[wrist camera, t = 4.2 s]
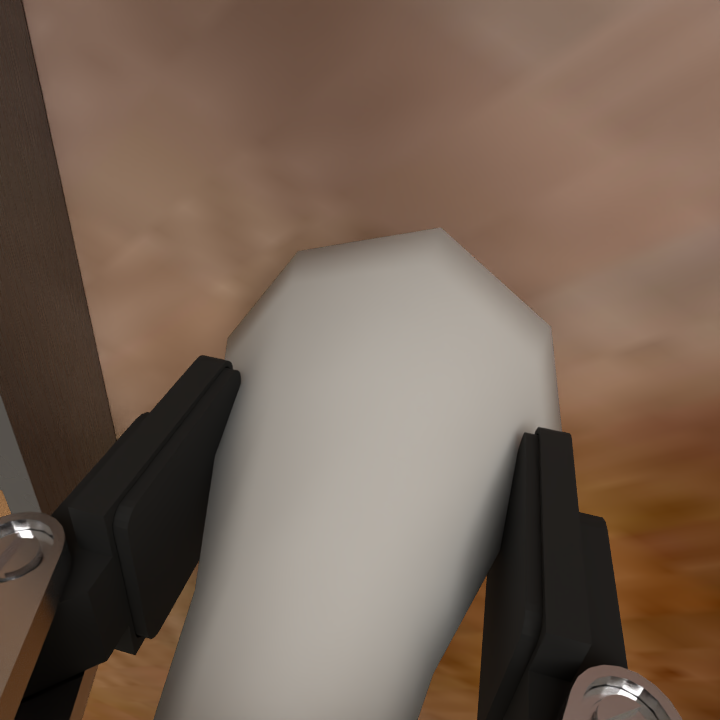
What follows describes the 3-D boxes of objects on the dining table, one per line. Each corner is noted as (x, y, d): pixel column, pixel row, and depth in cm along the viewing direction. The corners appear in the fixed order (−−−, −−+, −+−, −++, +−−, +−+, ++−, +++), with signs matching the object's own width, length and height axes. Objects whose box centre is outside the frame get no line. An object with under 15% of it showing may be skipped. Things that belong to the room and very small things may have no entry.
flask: (620, 453, 13) (789, 1303, 5) (349, 528, 16) (165, 1098, 8) (463, 153, 10) (209, 850, 2) (180, 315, 14) (-349, 827, 5)
